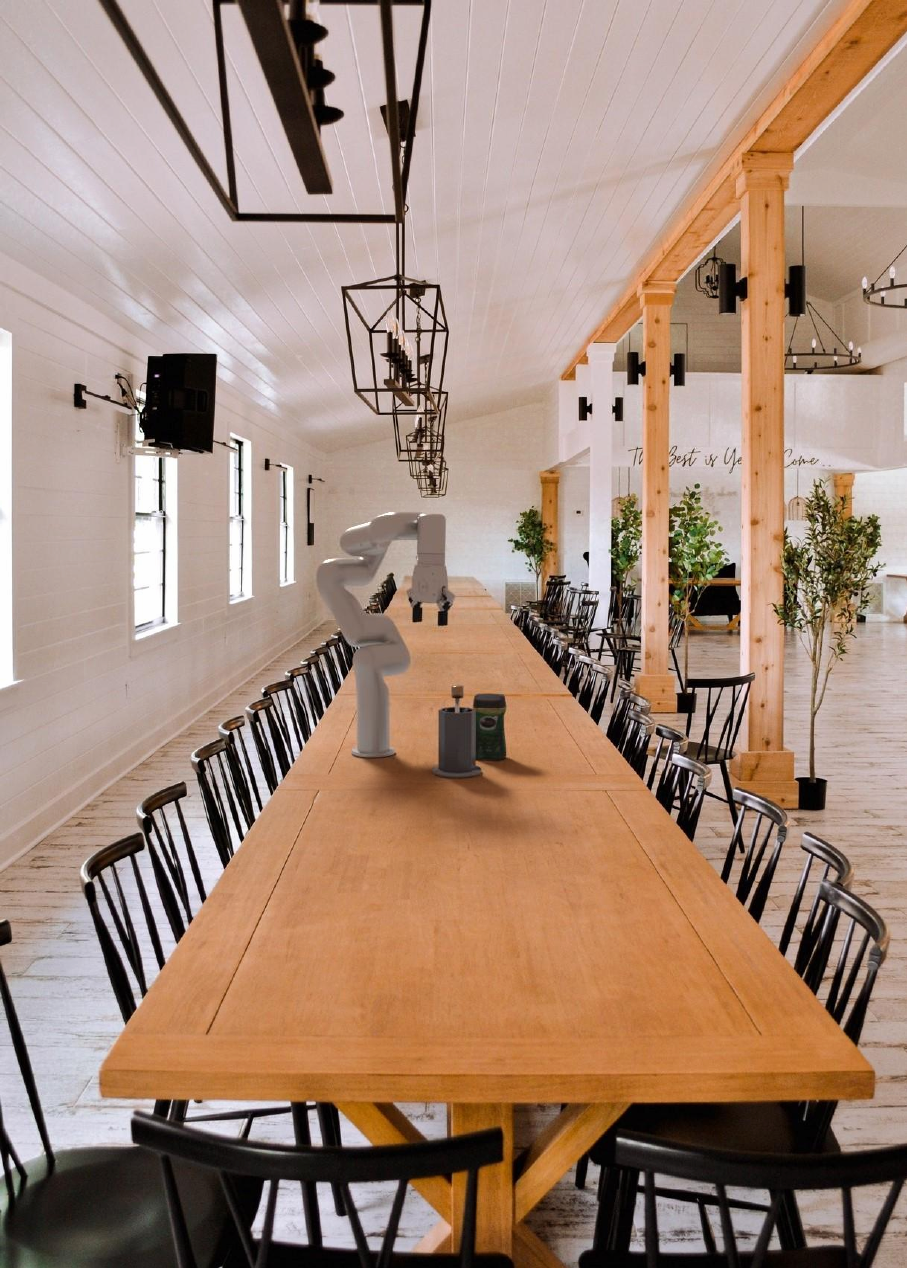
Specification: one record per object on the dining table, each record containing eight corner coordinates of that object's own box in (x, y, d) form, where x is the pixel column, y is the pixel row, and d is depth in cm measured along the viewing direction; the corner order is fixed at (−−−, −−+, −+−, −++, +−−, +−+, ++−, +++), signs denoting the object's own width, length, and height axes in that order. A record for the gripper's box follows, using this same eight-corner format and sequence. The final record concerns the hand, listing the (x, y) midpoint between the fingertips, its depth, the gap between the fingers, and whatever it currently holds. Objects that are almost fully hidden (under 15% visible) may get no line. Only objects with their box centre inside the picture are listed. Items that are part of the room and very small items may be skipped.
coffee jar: (507, 755, 299) (508, 691, 297) (504, 761, 292) (505, 696, 290) (474, 754, 301) (474, 690, 299) (470, 760, 293) (471, 695, 291)
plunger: (439, 766, 280) (439, 685, 278) (463, 764, 283) (463, 683, 281) (450, 772, 274) (450, 689, 271) (475, 769, 277) (475, 687, 274)
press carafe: (423, 768, 283) (423, 707, 281) (466, 764, 288) (466, 703, 286) (445, 780, 270) (445, 716, 268) (489, 775, 275) (490, 712, 274)
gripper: (398, 558, 280) (397, 621, 282) (444, 562, 268) (442, 628, 270) (418, 558, 286) (417, 620, 288) (464, 561, 274) (462, 626, 276)
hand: (429, 623), depth 279 cm, fingers open, 9 cm apart
